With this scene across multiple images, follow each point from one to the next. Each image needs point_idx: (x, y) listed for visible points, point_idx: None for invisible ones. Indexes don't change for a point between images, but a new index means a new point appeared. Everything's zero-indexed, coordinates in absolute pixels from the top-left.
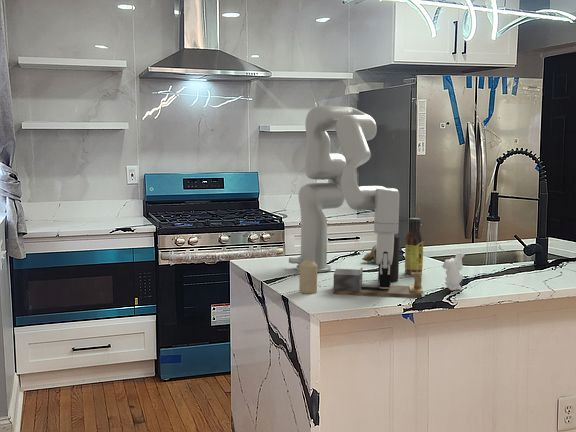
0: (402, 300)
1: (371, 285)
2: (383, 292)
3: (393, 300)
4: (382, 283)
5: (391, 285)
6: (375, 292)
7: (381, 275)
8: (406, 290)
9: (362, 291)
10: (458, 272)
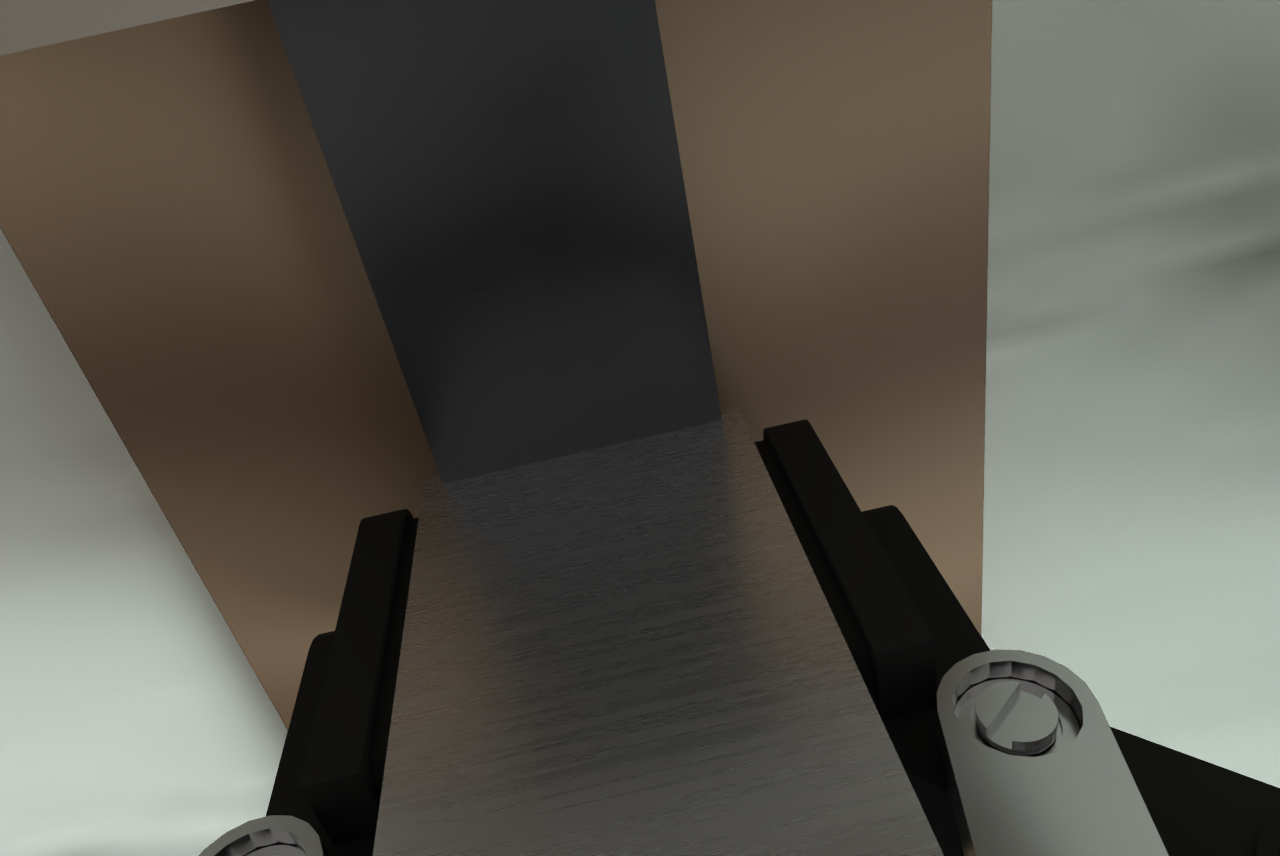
0: (123, 836)
1: (575, 241)
2: (247, 570)
3: (15, 743)
4: (310, 657)
5: (980, 543)
6: (130, 428)
7: (329, 801)
8: None
9: (6, 77)
10: None
